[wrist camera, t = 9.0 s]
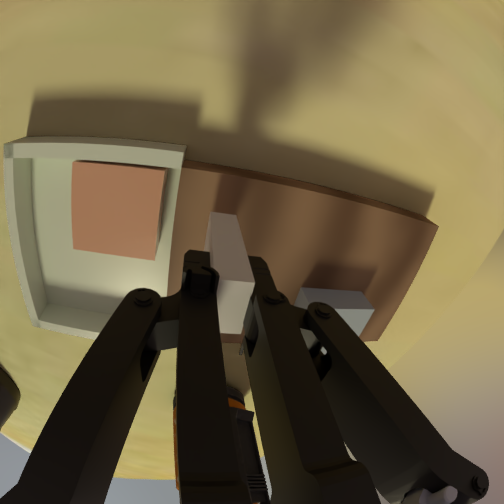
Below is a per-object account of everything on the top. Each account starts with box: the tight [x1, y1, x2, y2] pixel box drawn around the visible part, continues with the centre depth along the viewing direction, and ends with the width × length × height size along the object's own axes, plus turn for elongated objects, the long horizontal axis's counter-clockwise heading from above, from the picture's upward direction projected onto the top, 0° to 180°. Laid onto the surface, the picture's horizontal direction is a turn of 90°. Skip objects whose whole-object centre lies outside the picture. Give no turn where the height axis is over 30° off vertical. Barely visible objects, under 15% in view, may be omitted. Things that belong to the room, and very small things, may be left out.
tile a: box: [71, 160, 169, 261], centre depth 17 cm, size 6×6×2 cm
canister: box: [173, 387, 270, 504], centre depth 23 cm, size 9×11×20 cm
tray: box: [4, 136, 187, 340], centre depth 18 cm, size 13×16×3 cm
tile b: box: [294, 287, 375, 354], centre depth 22 cm, size 6×6×2 cm
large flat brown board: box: [167, 160, 439, 343], centre depth 22 cm, size 22×14×2 cm, turn 77°
